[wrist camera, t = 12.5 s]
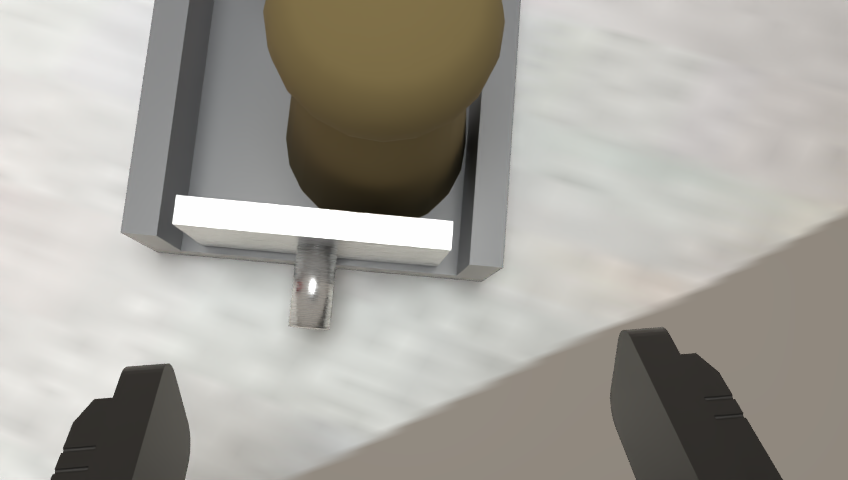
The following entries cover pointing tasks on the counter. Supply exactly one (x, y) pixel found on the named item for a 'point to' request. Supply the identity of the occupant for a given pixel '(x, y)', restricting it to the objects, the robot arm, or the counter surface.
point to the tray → (284, 139)
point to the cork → (381, 95)
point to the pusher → (313, 242)
